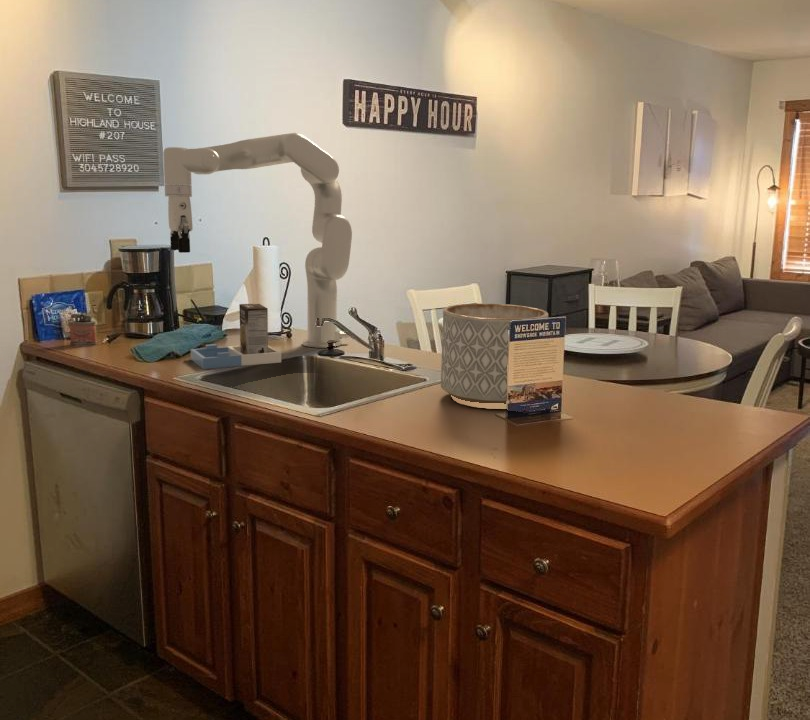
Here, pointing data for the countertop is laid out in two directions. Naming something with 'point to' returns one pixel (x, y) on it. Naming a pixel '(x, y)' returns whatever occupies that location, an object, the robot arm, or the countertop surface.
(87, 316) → the lighter
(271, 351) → the blue and white tray
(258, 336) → the coffee box
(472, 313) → the planter
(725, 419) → the countertop surface
